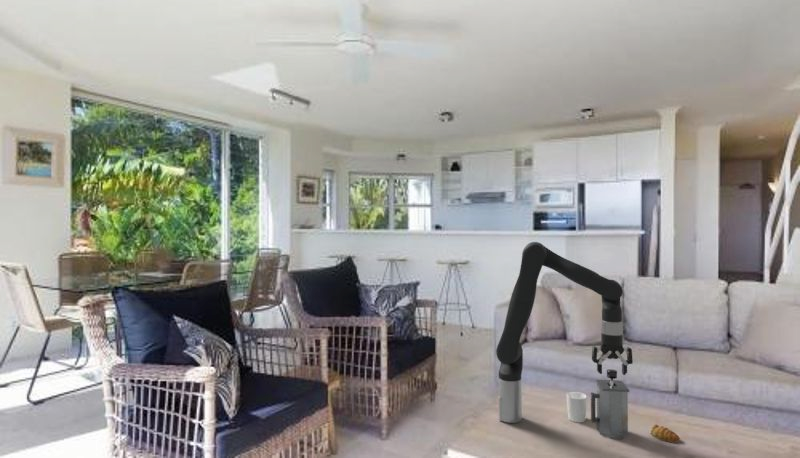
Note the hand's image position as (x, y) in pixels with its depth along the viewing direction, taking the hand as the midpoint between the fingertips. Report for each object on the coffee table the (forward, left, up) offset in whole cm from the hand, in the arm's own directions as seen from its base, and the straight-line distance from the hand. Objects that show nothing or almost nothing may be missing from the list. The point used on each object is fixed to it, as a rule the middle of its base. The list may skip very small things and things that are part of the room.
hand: (612, 373), depth 181 cm
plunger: (0, 0, -14) cm, 14 cm away
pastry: (+18, -1, -24) cm, 30 cm away
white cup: (-11, +11, -23) cm, 28 cm away
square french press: (-1, 0, -23) cm, 23 cm away
